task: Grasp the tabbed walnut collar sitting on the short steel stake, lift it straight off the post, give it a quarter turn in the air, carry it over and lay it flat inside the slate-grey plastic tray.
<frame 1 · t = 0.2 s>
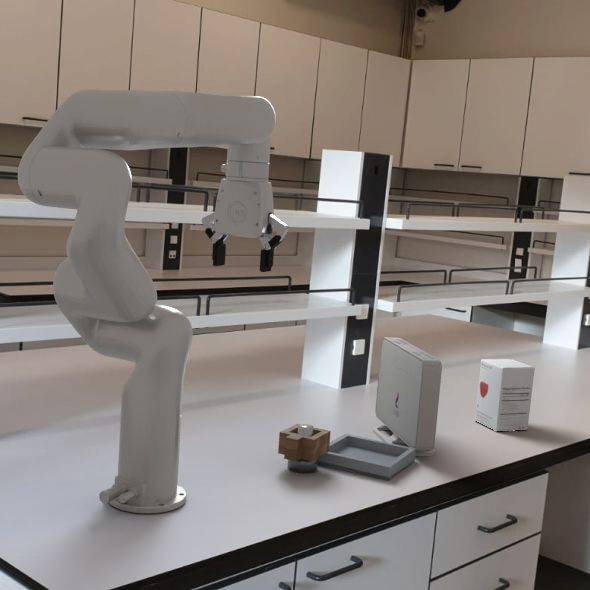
hand: (241, 268, 156), 36 cm above the lab bench, tool pointing down, fingers open, 9 cm apart
stake: (302, 468, 160), on the lab bench
network device: (402, 442, 182), on the lab bench
collar: (303, 452, 160), point 3 cm above the lab bench, touching stake
supplement box: (500, 427, 200), on the lab bench
tray: (365, 462, 166), on the lab bench
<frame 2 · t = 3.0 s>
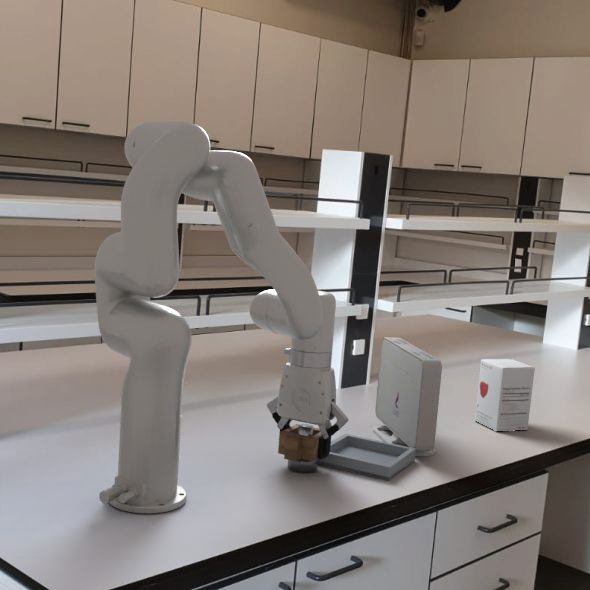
hand: (303, 452, 160), 3 cm above the lab bench, tool pointing down, fingers closed on collar, 7 cm apart
collar: (303, 452, 160), point 3 cm above the lab bench, touching gripper, stake
everything else where it was.
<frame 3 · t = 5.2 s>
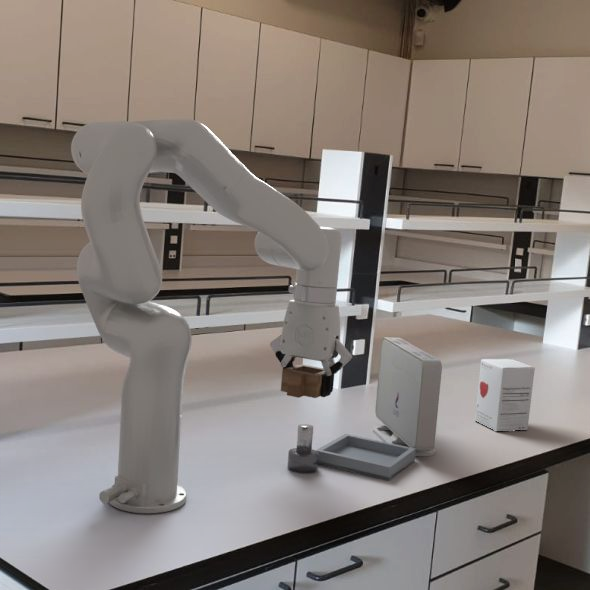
hand: (306, 391, 158), 15 cm above the lab bench, tool pointing down, fingers closed on collar, 7 cm apart
collar: (306, 391, 158), point 15 cm above the lab bench, touching gripper
everything else where it was.
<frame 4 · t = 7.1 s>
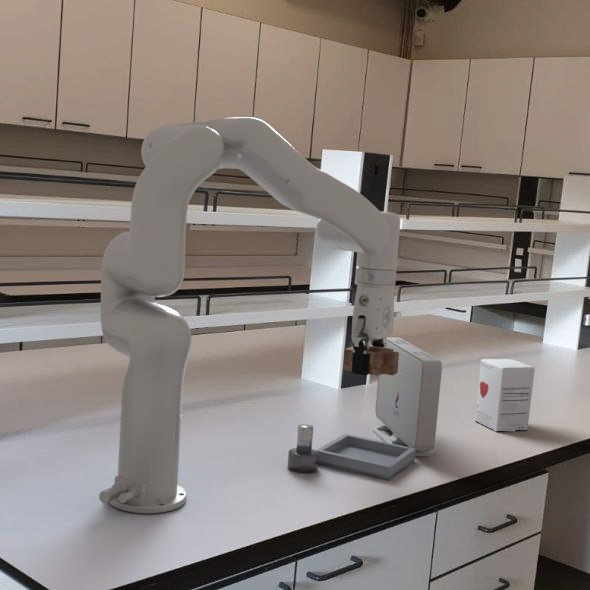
hand: (367, 369, 164), 18 cm above the lab bench, tool pointing down, fingers closed on collar, 7 cm apart
collar: (367, 369, 164), point 18 cm above the lab bench, touching gripper
everything else where it was.
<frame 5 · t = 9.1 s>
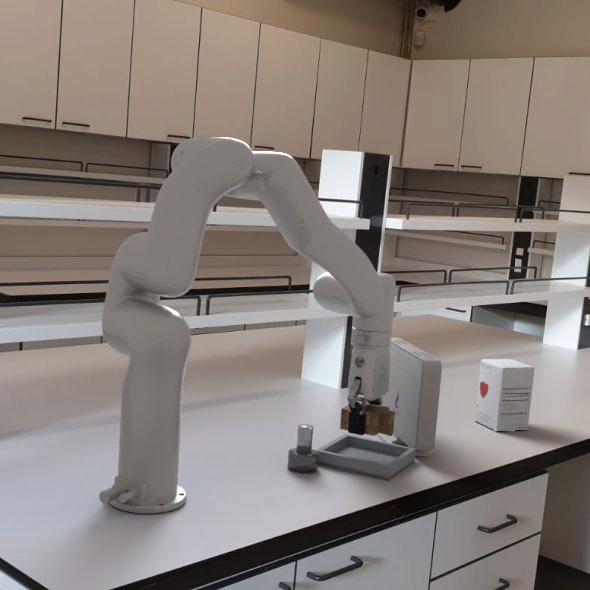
hand: (364, 428, 166), 6 cm above the lab bench, tool pointing down, fingers closed on collar, 7 cm apart
collar: (364, 428, 166), point 7 cm above the lab bench, touching gripper
everything else where it was.
when the fingers open (2 cm above the lab bench, at t = 11.0 s): collar drops 1 cm, resting on tray.
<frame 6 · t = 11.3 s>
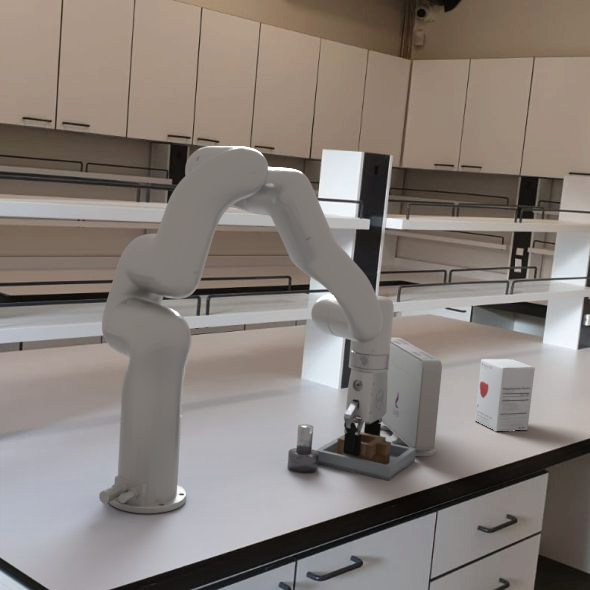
hand: (361, 448, 166), 3 cm above the lab bench, tool pointing down, fingers open, 9 cm apart
collar: (360, 458, 167), point 1 cm above the lab bench, touching tray
everything else where it was.
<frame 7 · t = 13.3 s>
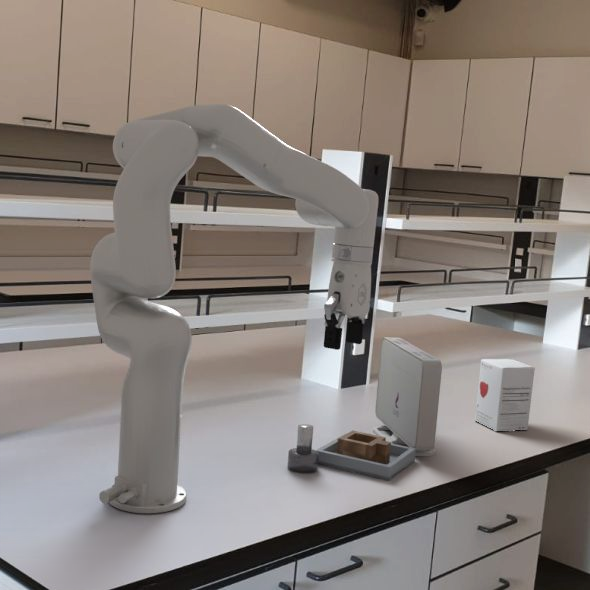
hand: (343, 345, 163), 22 cm above the lab bench, tool pointing down, fingers open, 9 cm apart
nothing on the lab bench moved.
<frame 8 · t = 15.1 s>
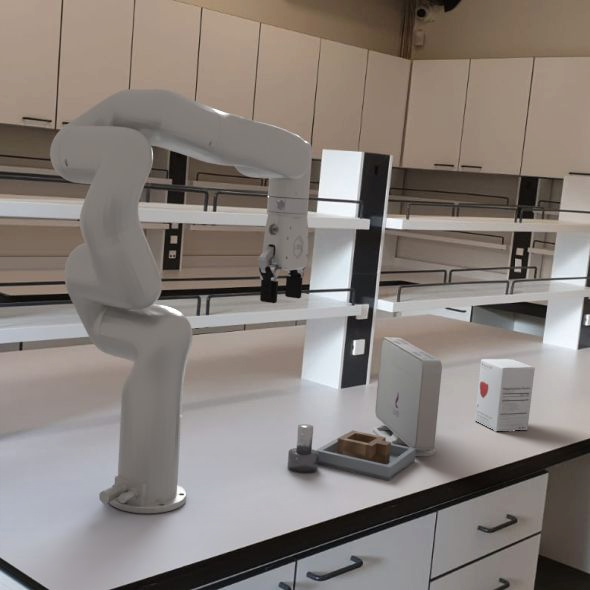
hand: (281, 299, 161), 30 cm above the lab bench, tool pointing down, fingers open, 9 cm apart
nothing on the lab bench moved.
at the end: collar inside the target area on the tray (1.1 cm from its centre), point 0.6 cm above the tray's base; collar tilted 0°; the gripper is holding nothing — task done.
